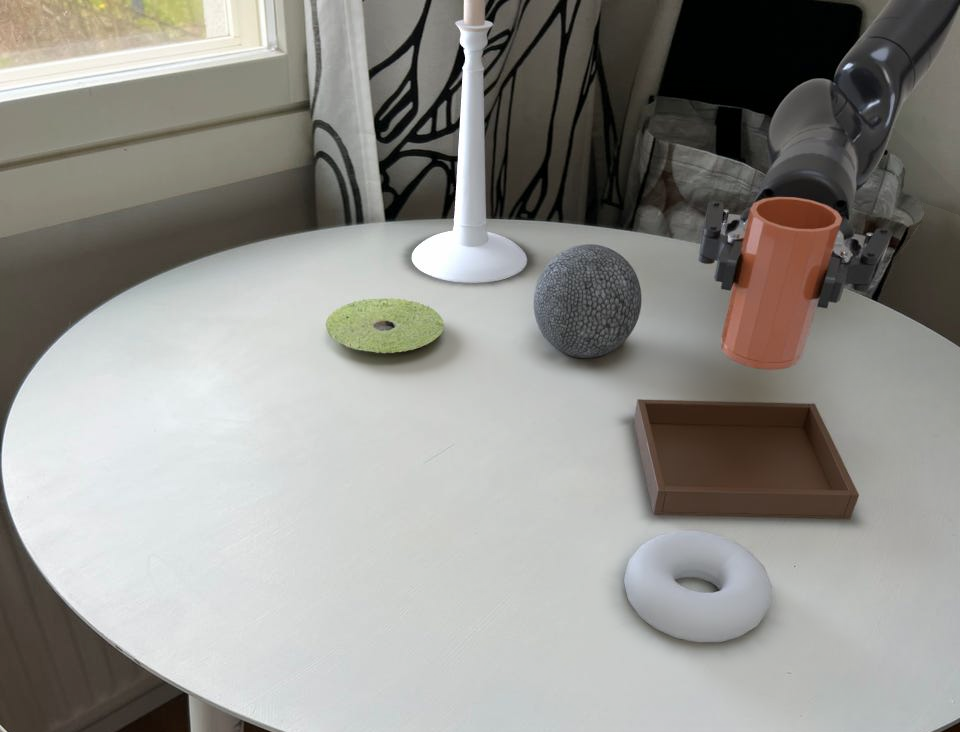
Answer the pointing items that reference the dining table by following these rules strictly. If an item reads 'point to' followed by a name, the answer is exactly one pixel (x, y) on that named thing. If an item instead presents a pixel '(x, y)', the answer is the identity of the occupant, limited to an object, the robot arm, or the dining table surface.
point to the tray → (741, 460)
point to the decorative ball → (587, 301)
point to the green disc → (384, 325)
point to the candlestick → (471, 182)
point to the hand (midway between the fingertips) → (777, 285)
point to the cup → (778, 281)
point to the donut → (692, 610)
